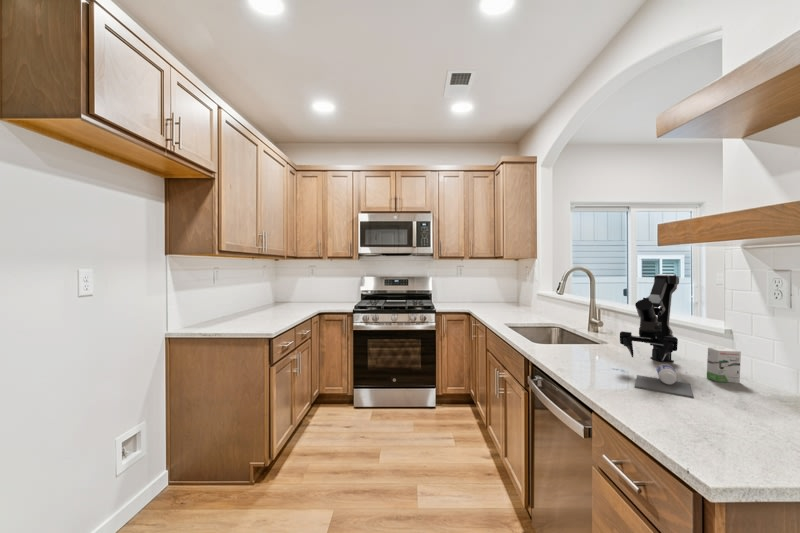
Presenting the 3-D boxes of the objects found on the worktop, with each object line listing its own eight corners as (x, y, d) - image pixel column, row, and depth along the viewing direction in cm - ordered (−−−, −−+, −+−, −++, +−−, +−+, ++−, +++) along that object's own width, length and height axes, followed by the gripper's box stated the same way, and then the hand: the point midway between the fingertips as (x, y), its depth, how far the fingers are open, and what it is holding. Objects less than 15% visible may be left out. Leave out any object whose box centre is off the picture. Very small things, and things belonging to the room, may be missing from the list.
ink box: (716, 382, 134) (717, 350, 134) (705, 377, 139) (706, 347, 139) (740, 382, 134) (741, 350, 134) (729, 378, 139) (730, 347, 139)
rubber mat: (636, 376, 140) (636, 374, 140) (690, 385, 130) (690, 383, 130) (634, 387, 127) (634, 385, 127) (693, 398, 117) (693, 396, 117)
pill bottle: (664, 380, 136) (666, 389, 127) (653, 367, 137) (655, 376, 129) (678, 373, 133) (682, 382, 125) (667, 360, 135) (670, 368, 126)
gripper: (620, 311, 149) (617, 342, 140) (678, 316, 138) (678, 350, 129) (621, 328, 155) (618, 359, 146) (676, 333, 145) (677, 367, 136)
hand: (646, 358), depth 139 cm, fingers open, 9 cm apart
